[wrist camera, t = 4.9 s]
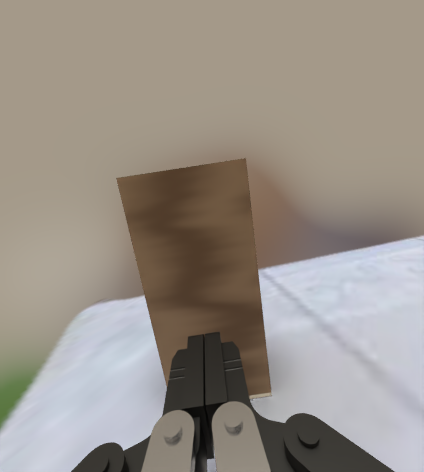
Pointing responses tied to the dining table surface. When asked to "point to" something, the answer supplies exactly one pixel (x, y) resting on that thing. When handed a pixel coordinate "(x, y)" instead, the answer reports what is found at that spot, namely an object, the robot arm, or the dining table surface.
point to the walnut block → (199, 261)
